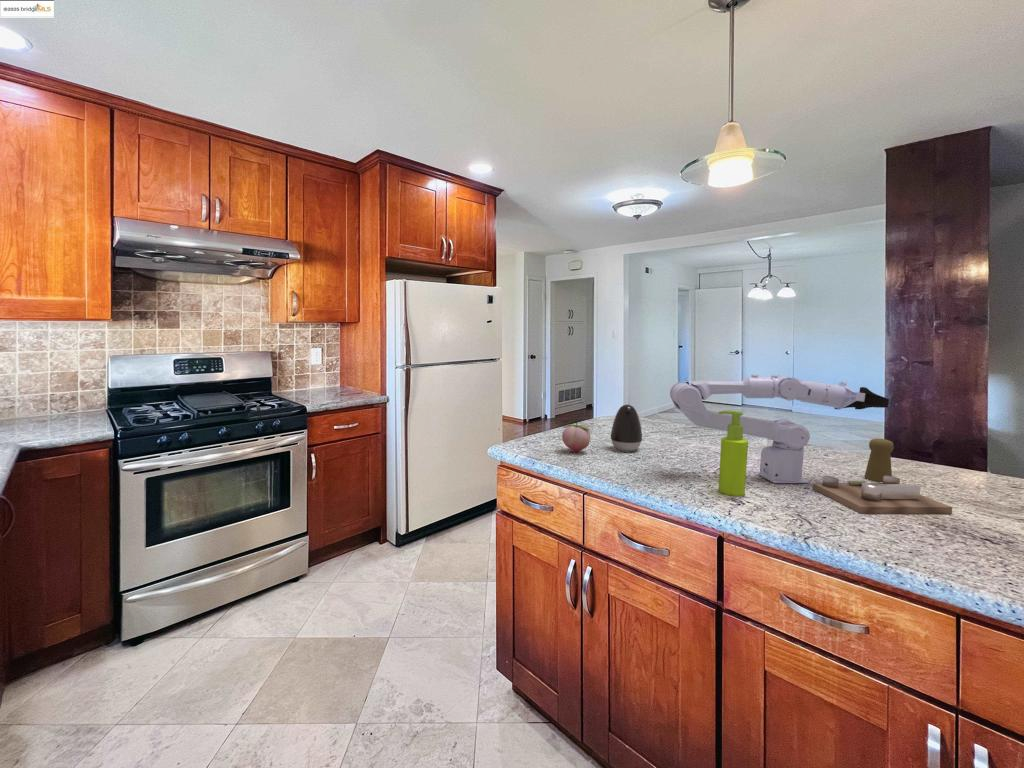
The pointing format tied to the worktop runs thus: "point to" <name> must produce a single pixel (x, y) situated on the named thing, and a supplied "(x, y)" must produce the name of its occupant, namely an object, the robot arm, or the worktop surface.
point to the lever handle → (889, 491)
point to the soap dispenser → (733, 458)
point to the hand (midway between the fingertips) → (877, 403)
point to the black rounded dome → (626, 429)
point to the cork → (879, 460)
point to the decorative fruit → (576, 437)
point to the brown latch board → (852, 498)
